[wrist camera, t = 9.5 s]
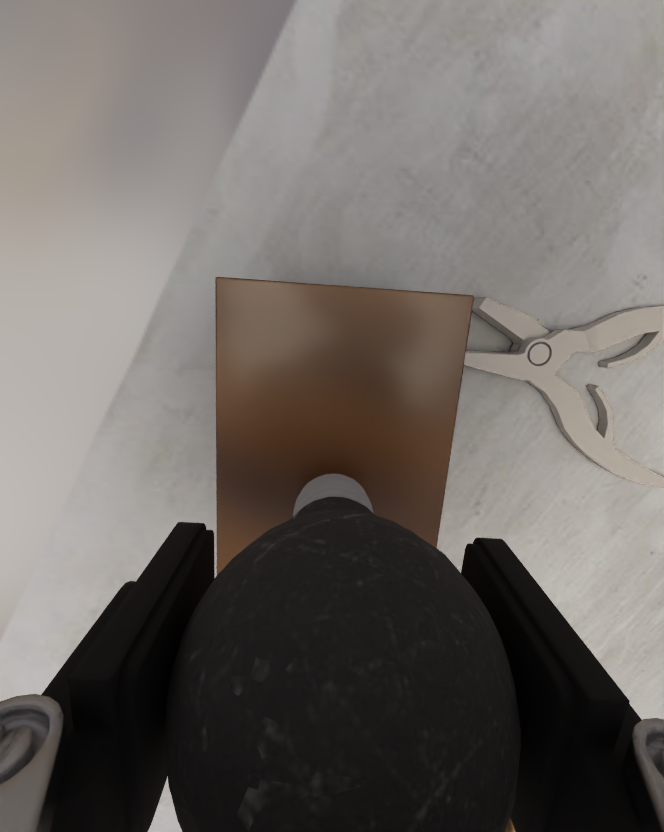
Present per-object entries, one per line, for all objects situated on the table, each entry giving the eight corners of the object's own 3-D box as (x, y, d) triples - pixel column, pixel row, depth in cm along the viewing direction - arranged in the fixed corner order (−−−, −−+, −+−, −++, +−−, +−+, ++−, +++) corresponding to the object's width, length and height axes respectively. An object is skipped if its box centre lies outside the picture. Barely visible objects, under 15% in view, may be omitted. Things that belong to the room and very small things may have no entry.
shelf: (261, 292, 21) (214, 276, 12) (412, 303, 21) (474, 295, 12) (256, 531, 24) (217, 654, 15) (386, 538, 24) (419, 662, 16)
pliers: (680, 499, 22) (434, 421, 21) (658, 487, 24) (426, 413, 23) (780, 329, 20) (511, 228, 19) (748, 327, 22) (497, 235, 20)
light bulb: (219, 510, 14) (-28, 978, 4) (317, 384, 13) (293, 611, 3) (345, 593, 15) (386, 1131, 5) (446, 482, 14) (742, 893, 4)
